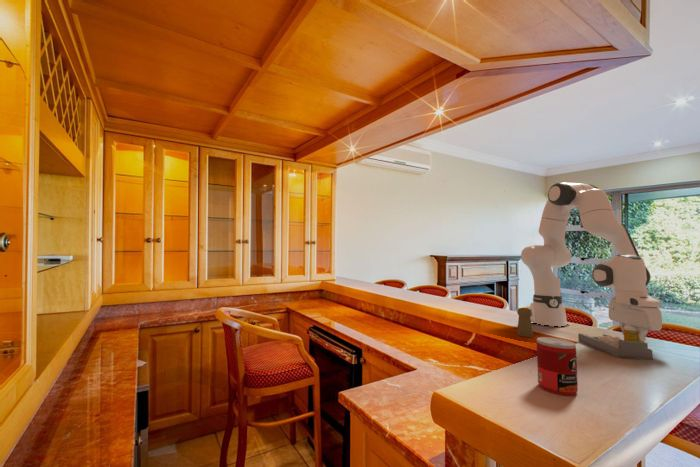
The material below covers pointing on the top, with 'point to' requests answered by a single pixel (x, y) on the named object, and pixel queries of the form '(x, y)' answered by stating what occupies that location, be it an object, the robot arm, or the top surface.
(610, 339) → the pale grey block
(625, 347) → the pusher lane
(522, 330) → the cork
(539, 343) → the canned food
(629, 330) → the supplement bottle
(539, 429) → the top surface
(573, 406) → the top surface
